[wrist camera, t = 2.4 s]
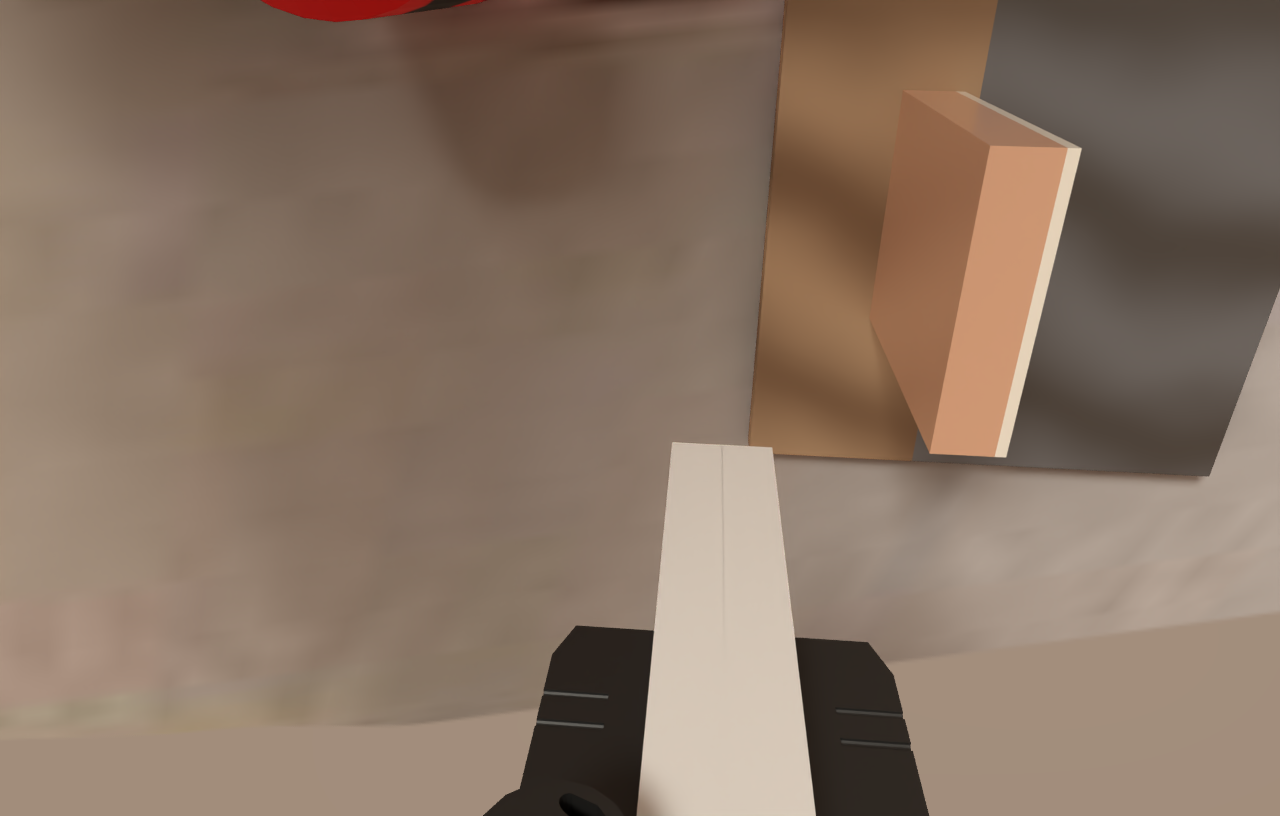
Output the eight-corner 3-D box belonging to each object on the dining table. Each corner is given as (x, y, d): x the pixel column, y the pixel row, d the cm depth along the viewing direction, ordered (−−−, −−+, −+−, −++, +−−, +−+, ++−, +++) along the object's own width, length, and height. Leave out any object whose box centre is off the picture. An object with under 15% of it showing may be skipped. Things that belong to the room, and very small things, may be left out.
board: (795, -122, 27) (798, -126, 26) (1402, -116, 26) (1432, -120, 24) (748, 438, 36) (749, 452, 35) (1193, 460, 35) (1209, 476, 34)
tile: (903, 90, 28) (990, 145, 19) (965, 91, 28) (1082, 148, 19) (869, 318, 32) (929, 453, 23) (924, 320, 32) (1006, 457, 23)
